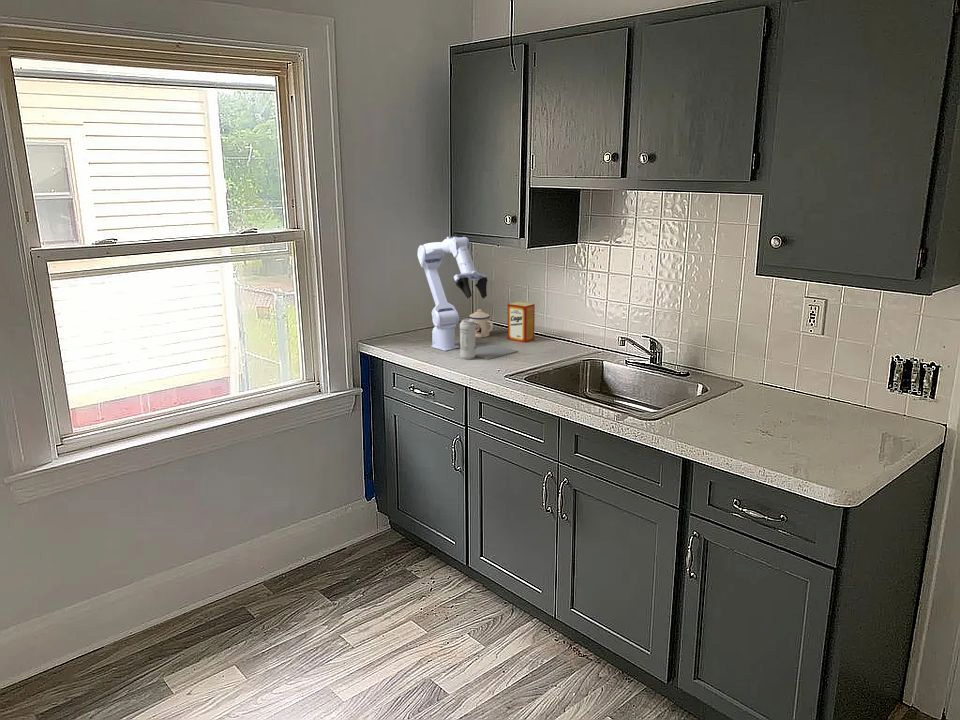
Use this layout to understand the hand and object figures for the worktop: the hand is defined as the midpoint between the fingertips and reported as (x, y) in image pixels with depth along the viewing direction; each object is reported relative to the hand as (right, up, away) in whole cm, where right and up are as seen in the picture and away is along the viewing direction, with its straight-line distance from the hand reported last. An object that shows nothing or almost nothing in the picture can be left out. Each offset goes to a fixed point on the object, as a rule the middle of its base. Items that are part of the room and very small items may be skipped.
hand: (477, 297), depth 279 cm
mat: (+5, -21, +21) cm, 30 cm away
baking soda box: (+19, -15, +41) cm, 48 cm away
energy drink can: (-4, -23, +13) cm, 27 cm away
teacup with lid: (+2, -13, +49) cm, 50 cm away
